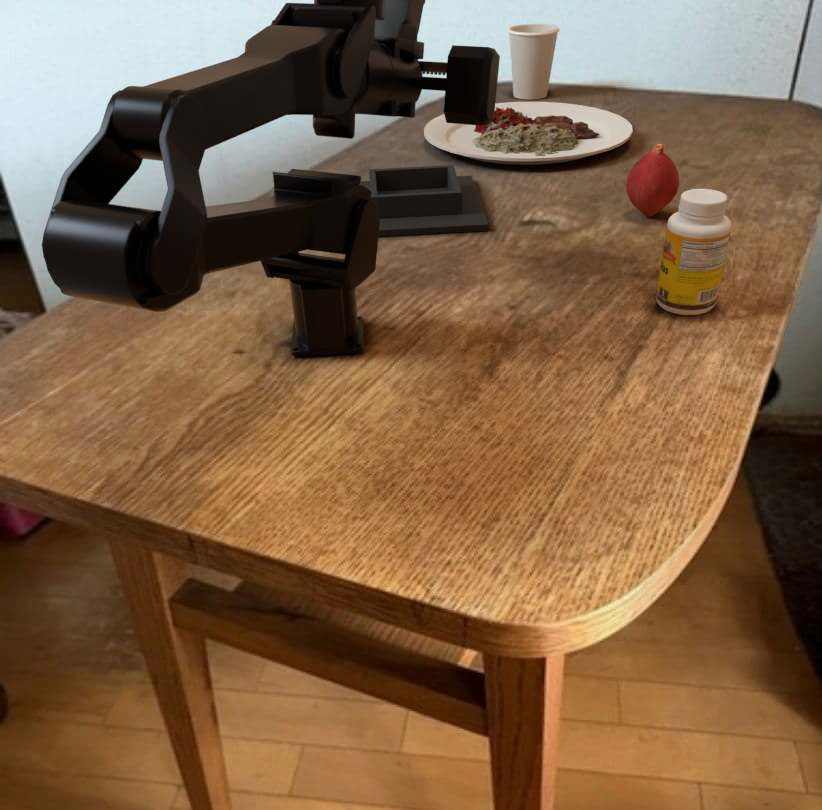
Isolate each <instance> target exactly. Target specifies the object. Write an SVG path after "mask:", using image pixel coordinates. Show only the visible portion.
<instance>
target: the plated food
mask: <svg viewBox="0 0 822 810" xmlns="http://www.w3.org/2000/svg"><path fill="white" fill-rule="evenodd" d="M423 134H424V139H426V141H427V142H428V143H429V144H431V145H432V146H434V147H435V148H438V149H440V150H442V151H444V152H445V151H446V152H447V153H448V152H449V153H451V154H456V155H459V156H462V157H465V158H468V159H471V160H475V161H481V162H484V163H492V164H501V165H516V166H517V165H518V166H519V165H520V166H521V165H522V166H526V165H527V166H533V165H550V164H559V163H566V162H572V161H576V160H581V159H584V158H589V157H590V156H594V155H598V154H601V153H605V152H608V151H611V150H613V149H615V148H618V147H620V146H622V145H623V144H625V143H626V142H628V141H629V140H630V139H631V137H632V135H633V125H632V124H631V123H630V121H628V119H626V118H625V117H623V116H621V115H619V114H618V113H614V112H611V111H609V110H605V109H602V108H597V107H594V106H587V105H582V104H575V103H565V102H555V101H554V102H552V101H509V102H495V111H494V120H493V121H492V122H491V123H490V124H489V125H488V126H479V125H467V124H454V123H446V119H445V115H444V113H442V114H440V115H438V116H436V117H434V118H432V119H431V120H430V121H429V122H427V123H426V125H425V126H424V128H423Z"/></svg>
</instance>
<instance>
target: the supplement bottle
mask: <svg viewBox="0 0 822 810" xmlns="http://www.w3.org/2000/svg"><path fill="white" fill-rule="evenodd" d="M679 199H680V200H679V204H678V211H676V212H675V213H673V214H672V215H671V216H670V217H669V218H668V220H667V225H666V230H665V235H664V243H663V248H662V254H661V262H660V269H659V275H658V282H657V288H656V295H655V296H656V297H655V299H656V303H657V305H659V307H661V309H663V310H664V311H667V312H668V313H671V314H676V315H679V316H697V315H703V314H705V313H708V312H709V311H711V310H712V309H713V308H714V307H715V305H716V304H717V300H718V295H719V291H720V290H719V289H720V285H721V280H722V276H723V271H724V266H725V261H726V256H727V251H728V247H729V242H730V237H731V231H732V226H733V225H732V221H731V219H730V217H728V216H727V215H726V211H727V204H728V199H729V198H728V196H727V194H726V193H724V192H722V191H720V190H715V189H710V188H693V189H688V190H685V191H683V192H682V193H681V195H680V198H679Z"/></svg>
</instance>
